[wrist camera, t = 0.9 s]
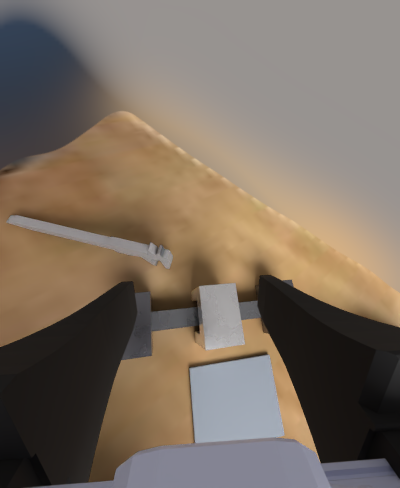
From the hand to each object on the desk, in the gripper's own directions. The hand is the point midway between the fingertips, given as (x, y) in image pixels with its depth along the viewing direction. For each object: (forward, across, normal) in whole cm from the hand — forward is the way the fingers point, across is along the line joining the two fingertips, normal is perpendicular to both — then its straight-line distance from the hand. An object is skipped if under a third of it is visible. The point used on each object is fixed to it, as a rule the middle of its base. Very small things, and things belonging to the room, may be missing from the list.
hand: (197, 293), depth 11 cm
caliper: (+15, +13, +2) cm, 20 cm away
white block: (+11, -2, +10) cm, 15 cm away
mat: (+6, -4, +18) cm, 19 cm away
